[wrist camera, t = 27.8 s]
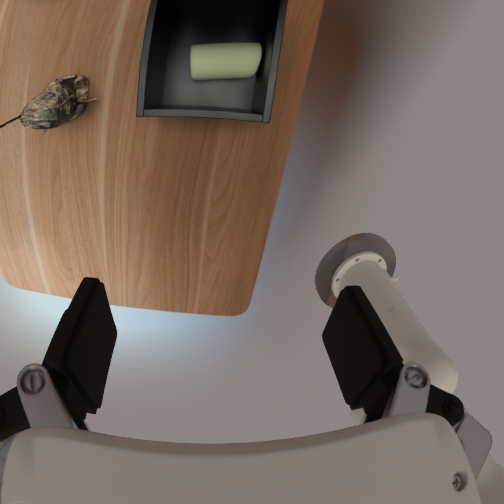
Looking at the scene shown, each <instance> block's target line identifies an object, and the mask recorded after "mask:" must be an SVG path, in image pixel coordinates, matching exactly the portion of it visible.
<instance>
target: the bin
mask: <svg viewBox="0 0 504 504" xmlns="http://www.w3.org/2000/svg"><path fill="white" fill-rule="evenodd" d="M287 3H288V0H151V3H150V7H149V12H148V17H147V23H146V29H145V35H144V41H143V48H142V56H141V64H140V73H139V83H138V96H137V112H136V117H204V118H221V119H234V120H245V121H254V122H263V123H270V118H271V111H272V104H273V98H274V91H275V84H276V77H277V70H278V64H279V57H280V50H281V43H282V37H283V30H284V23H285V16H286V10H287ZM212 43H259V44H260V45H261V47H262V55H261V60H260V63H259V66H258V69H257V71H256V72H255V74H254V75H253V76H252V77H251V78H244V79H215V80H201V81H193V80H192V76H191V64H190V53H191V46H192V45H198V44H212Z"/></svg>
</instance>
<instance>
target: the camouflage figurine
mask: <svg viewBox="0 0 504 504" xmlns="http://www.w3.org/2000/svg"><path fill="white" fill-rule="evenodd" d="M88 86H89V85H88V81H87V78H86V77H85V76H83V77H82V76H80V77H78V76H74V75H72V76H70V75H68V76H67V77H65V78H61V80H58V79H56V80H55V82H52V84H51V83H50V84H49V83H48V85H47V87H46V89H45V90H43V92H42V93H40V94H39V95H38V96H36V97H35V98H33V99H32V100H31V101H29V102H28V104H27V105H26V106H25V107H24V108H23V110H22V112H21V115H19V116H18V117H16V118H14V119H12V120H10V121H8V122H6V123H5V124H3V125H0V128H2V127H3V126H5V125H6V124H9V123H11V122H13V121H15V120H16V119H19V118H20V120H21V123H22V124H23V126H24V127H28V128H32V129H43V130H44V129H45V130H44V132H46V130H47V129H49V128H55V127H58V126H60V125H62V124H64V123H66V122H68V121H69V120H70V119H71V120H72V119H73V118H74V119H75V117H77V116H79V115H81V114H83V112H84V110H85V108H86V107H85V106H86V104H88V103H89V102H92V101H95V100H98V98H97V97H96V98H92V99H90V100H87V97H86V95H88V93H87V92H88V91H87V90H88V89H87V88H88Z"/></svg>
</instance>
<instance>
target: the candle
mask: <svg viewBox="0 0 504 504" xmlns="http://www.w3.org/2000/svg"><path fill="white" fill-rule="evenodd" d="M261 55H262V47H261V45H260V44H259V43H212V44H198V45H192V46H191V53H190V64H191V76H192V80H193V81H201V80H215V79H244V78H251V77H252V76H253V75H254V74H255V72H256V71H257V69H258V66H259V63H260V60H261Z"/></svg>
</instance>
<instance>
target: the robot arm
mask: <svg viewBox="0 0 504 504" xmlns="http://www.w3.org/2000/svg"><path fill="white" fill-rule="evenodd" d="M397 282H398V277H397V276H392V277H390V275H389V274H388V273H387V265H386V262H385V260H384V259H383V258H382V257H381V256H380V255H379V254H378V253H376V252H372V251H364V252H359V253H356V254H354V255H352V256H350V257H349V258H347V259H346V260H345V261H344V262H342V263H341V264H340V266H339V267H338V268H337V269H336V271H335V273H334V275H333V277H332V282H331V288H332V291H333V293H334V295H335V296H336V298H337V301H336V303H335V305H334V308H333V310H332V313H331V315H330V317H329V320H328V322H327V324H326V327H325V329H324V331H323V334H322V339H323V342H324V345H325V348H326V350H327V353H328V356H329V358H330V361H331V364H332V366H333V369H334V372H335V375H336V377H337V380H338V383H339V385H340V388H341V391H342V394H343V397H344V400H345V402H346V404H348V405H350V408H351V415H352V418H353V421H354V423H355V425H356V426H353V427H348V428H344V429H340V430H335V431H330V432H326V433H320V434H315V435H309V436H303V437H296V438H289V439H281V440H273V441H263V442H250V443H229V444H228V443H227V444H195V443H193V444H192V443H172V442H159V441H150V440H141V439H133V438H126V437H119V436H113V435H107V434H101V433H96V432H92V431H91V430H90V428H89V426H88V425H87V423H86V421H85V418H86V413H91V414H96V411H97V408H100V407H101V404H102V399H103V394H104V389H105V384H106V379H107V375H108V370H109V366H110V362H111V358H112V353H113V349H114V346H115V342H116V338H117V329H116V326H115V323H114V320H113V317H112V313H111V309H110V306H109V302H108V299H107V295H106V291H105V287H104V284H103V282H100V280H99V279H98V278H90V277H85V278H83V280H82V282H81V284H80V286H79V287H78V289H77V291H76V293H75V295H74V297H73V299H72V301H71V303H70V306H69V307H68V309H67V310H65V312H64V313H63V315H62V317H61V320H60V322H59V324H58V326H57V328H56V331H55V333H54V335H53V338H52V340H51V343H50V345H49V347H48V350H47V352H46V355H45V357H44V360H43V363H42V365H40V364H35V363H34V364H29V365H27V366H25V367H24V368H23V369H22V370H21V371H20V372H19V374H18V377H17V386H16V387H15V388H13V389H11V390H9V391H8V392H6V393H4V394H3V395H1V396H0V504H504V468H503V467H502V466H500V465H499V464H498V463H497V462H495V461H494V460H493V458H492V457H491V456H490V454H489V451H490V449H491V446H492V437H491V434H490V433H489V431H488V430H486V429H485V428H484V427H483V426H482V425H481V424H480V423H479V422H478V421H476V420H475V419H474V418H473V417H472V416H471V415H470V413H469V412H468V410H467V409H466V408H465V407H464V406H463V404H462V402H461V401H460V400H459V398H457V397H456V396H454V395H452V392H453V391H454V390H455V388H456V386H457V382H458V372H457V369H456V367H455V366H454V363H453V362H452V361H451V359H450V358H449V357H448V356H447V355H446V354H445V352H444V351H443V350H442V349H441V348H440V347H439V346H438V345H437V343H436V342H435V341H434V340H433V338H432V337H431V336H430V335H429V333H428V332H427V331H426V329H425V328H424V326H423V325H422V324H421V322H420V321H419V319H418V318H417V317H416V315H415V314H414V312H413V311H412V309H411V308H410V306H409V305H408V304H407V302H406V301H405V299H404V298H403V297H402V295H401V294H400V293H399V291H398V289H399V288H398V285H397V284H393V283H397Z"/></svg>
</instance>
